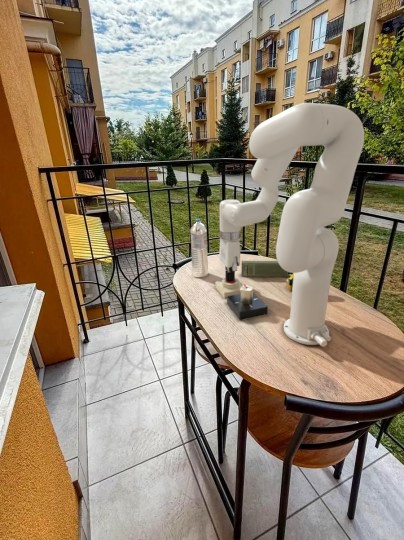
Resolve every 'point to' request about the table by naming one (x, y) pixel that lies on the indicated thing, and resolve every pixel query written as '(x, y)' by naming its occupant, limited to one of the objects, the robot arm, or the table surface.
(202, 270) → the water bottle
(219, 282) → the button box
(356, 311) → the table surface
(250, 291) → the knob
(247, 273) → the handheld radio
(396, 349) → the table surface
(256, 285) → the table surface
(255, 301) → the control panel
